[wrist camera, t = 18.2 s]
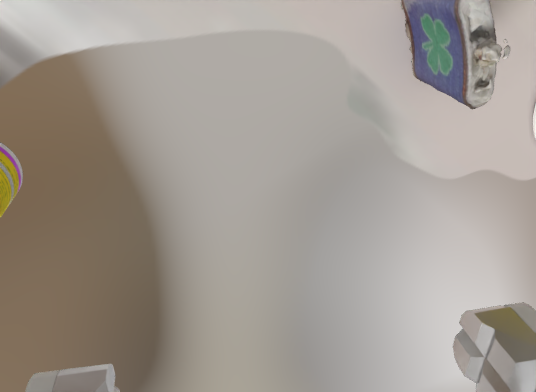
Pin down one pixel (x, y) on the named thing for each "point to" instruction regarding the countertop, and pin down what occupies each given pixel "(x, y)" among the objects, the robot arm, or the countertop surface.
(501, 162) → the countertop surface
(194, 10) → the countertop surface
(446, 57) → the flask
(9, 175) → the supplement bottle
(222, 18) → the countertop surface
